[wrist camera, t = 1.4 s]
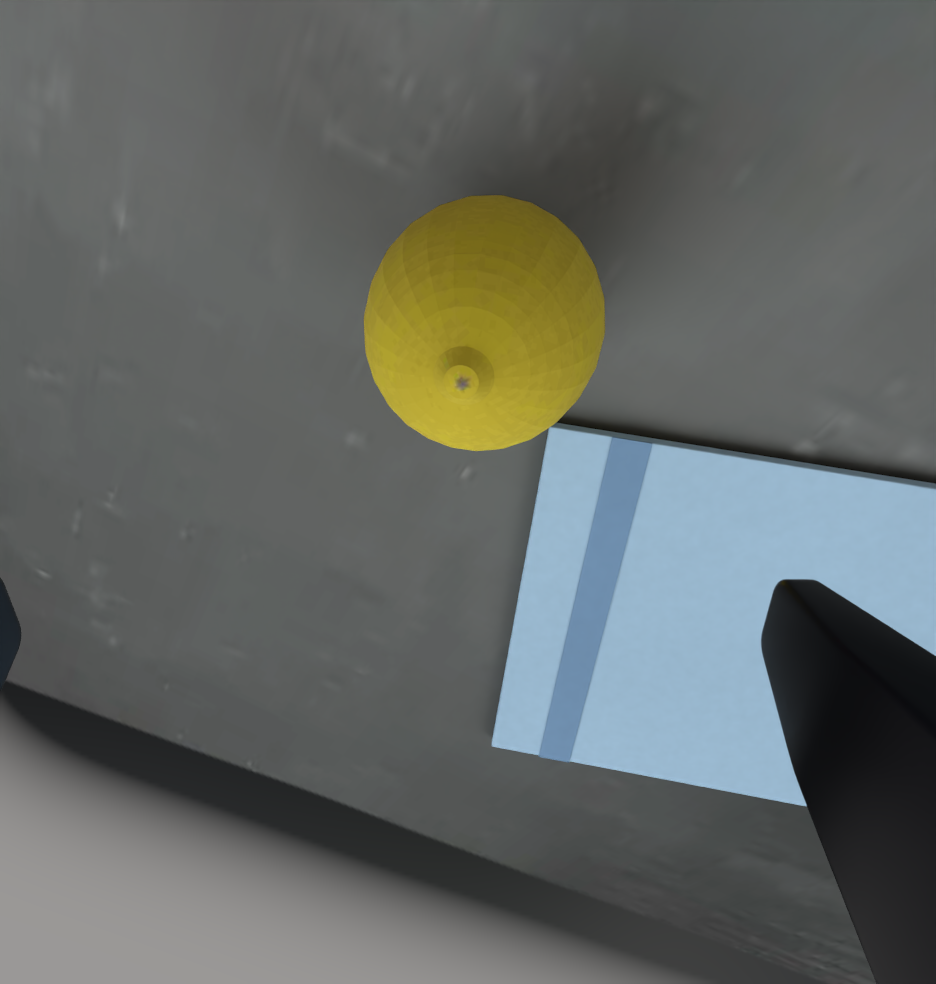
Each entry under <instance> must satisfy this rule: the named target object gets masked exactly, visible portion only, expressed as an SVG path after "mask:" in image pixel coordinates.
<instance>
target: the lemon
mask: <svg viewBox="0 0 936 984" xmlns="http://www.w3.org/2000/svg"><path fill="white" fill-rule="evenodd" d="M364 333H365V350H366V355H367V359H368V362H369V365H370V369H371V372H372V375H373V378H374V381H375V383H376V384H377V386H378V388H379V389H380V391H381V393H382V395H383V396H384V398H385V400H386V402H387V403H388V405H389V406H390V407H391V408H392V409H393V410H394V411H395V413H396V414H397V415H398V416H399V417H400V418H401V419H402V420H403V421H404V422H405V423H406V424H407V425H409V426H410V427H412V428H413V429H415V430H416V431H418V432H419V433H421V434H422V435H424V436H425V437H427V438H428V439H431V440H434V441H436V442H439V443H441V444H444V445H447V446H449V447H452V448H459V449H466V450H473V451H483V450H494V449H503V448H506V447H509V446H512V445H515V444H518V443H521V442H524V441H527V440H530V439H532V438H534V437H535V436H537V435H538V434H540V433H541V432H543V431H545V430H546V429H548V428H549V427H551V426H552V425H554V424H555V423H556V422H557V421H558V420H559V419H560V418H561V417H562V416H563V415H564V414H565V413H566V412H567V411H568V410H569V409H570V408H571V406H572V405H573V404H574V403H575V402H576V401H577V400H578V399H579V397H580V396H581V394H582V392H583V390H584V388H585V387H586V385H587V383H588V381H589V379H590V377H591V376H592V374H593V372H594V370H595V368H596V366H597V362H598V358H599V354H600V350H601V346H602V342H603V338H604V334H605V307H604V295H603V292H602V288H601V285H600V281H599V278H598V274H597V270H596V267H595V265H594V263H593V262H592V260H591V258H590V257H589V255H588V253H587V251H586V250H585V248H584V246H583V245H582V243H581V241H580V240H579V238H578V237H577V236H576V235H575V234H574V233H573V232H572V231H571V230H570V229H569V228H568V227H567V226H566V225H565V224H563V223H562V222H561V221H560V220H559V219H558V218H557V217H556V216H554V215H552V214H550V213H548V212H547V211H545V210H543V209H541V208H540V207H538V206H536V205H534V204H532V203H531V202H527V201H523V200H519V199H515V198H511V197H507V196H503V195H484V196H469V197H466V198H462V199H459V200H456V201H452V202H449V203H446V204H442V205H439V206H438V207H436V208H435V209H433V210H431V211H430V212H428V213H427V214H425V215H423V216H422V217H420V218H419V219H417V220H416V221H414V222H413V223H411V224H410V225H409V226H408V227H407V228H406V230H405V231H404V232H403V233H402V234H401V235H400V236H399V237H398V238H397V240H396V241H395V242H394V243H393V244H392V245H391V246H390V247H389V249H388V250H387V252H386V254H385V256H384V258H383V260H382V262H381V264H380V266H379V268H378V270H377V272H376V274H375V276H374V278H373V280H372V282H371V286H370V291H369V296H368V300H367V305H366V310H365V314H364Z"/></svg>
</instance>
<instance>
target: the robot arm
mask: <svg viewBox="0 0 936 984" xmlns="http://www.w3.org/2000/svg"><path fill="white" fill-rule="evenodd" d="M20 641H21V627H20V624H19V621H18V618H17V616H16V613H15V611H14V608H13V605H12V603H11V600H10V598H9V595H8V593H7V590H6V587H5V585H4V582H3V581H2V579H1V578H0V692H1V689H2V687H3V685H4V682H5V680H6V678H7V675H8V673H9V670H10V668H11V666H12V663H13V661H14V659H15V656H16V654H17V651H18V649H19V646H20ZM761 649H762V655H763V659H764V663H765V666H766V670H767V674H768V678H769V681H770V685H771V689H772V693H773V696H774V700H775V704H776V708H777V712H778V715H779V719H780V723H781V727H782V730H783V734H784V738H785V742H786V746H787V749H788V753H789V756H790V760H791V763H792V766H793V770H794V773H795V776H796V778H797V781H798V784H799V787H800V789H801V792H802V795H803V797H804V800H805V802H806V805H807V807H808V810H809V813H810V815H811V818H812V820H813V823H814V825H815V828H816V830H817V833H818V836H819V838H820V841H821V843H822V846H823V848H824V851H825V853H826V856H827V859H828V861H829V864H830V866H831V869H832V871H833V874H834V876H835V879H836V882H837V884H838V887H839V889H840V892H841V894H842V897H843V899H844V902H845V905H846V907H847V910H848V912H849V915H850V917H851V920H852V922H853V925H854V927H855V930H856V933H857V935H858V938H859V940H860V943H861V945H862V948H863V950H864V953H865V956H866V958H867V961H868V963H869V966H870V968H871V971H872V973H873V976H874V979H875V981H876V984H936V656H935V655H934V654H932V653H930V652H929V651H927V650H926V649H924V648H923V647H921V646H919V645H918V644H916V643H915V642H913V641H912V640H910V639H908V638H907V637H905V636H904V635H902V634H901V633H899V632H897V631H896V630H894V629H893V628H891V627H890V626H888V625H886V624H885V623H883V622H882V621H880V620H879V619H877V618H875V617H874V616H872V615H871V614H869V613H868V612H866V611H864V610H863V609H861V608H860V607H858V606H857V605H855V604H853V603H852V602H850V601H849V600H847V599H846V598H844V597H842V596H841V595H839V594H838V593H836V592H835V591H833V590H831V589H830V588H828V587H827V586H825V585H824V584H822V583H820V582H819V581H816V580H812V579H783V580H781V581H779V582H778V583H777V584H776V586H775V588H774V590H773V594H772V597H771V601H770V604H769V608H768V612H767V615H766V619H765V623H764V626H763V630H762V634H761Z"/></svg>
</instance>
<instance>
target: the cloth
mask: <svg viewBox="0 0 936 984" xmlns="http://www.w3.org/2000/svg"><path fill="white" fill-rule="evenodd" d="M783 579H812V580H816V581H819V582H820V583H822V584H824V585H825V586H827V587H828V588H830V589H831V590H833V591H835V592H836V593H838V594H839V595H841V596H842V597H844V598H846V599H847V600H849V601H850V602H852V603H853V604H855V605H857V606H858V607H860V608H861V609H863V610H864V611H866V612H868V613H869V614H871V615H872V616H874V617H875V618H877V619H879V620H880V621H882V622H883V623H885V624H886V625H888V626H890V627H891V628H893V629H894V630H896V631H897V632H899V633H901V634H902V635H904V636H905V637H907V638H908V639H910V640H912V641H913V642H915V643H916V644H918V645H919V646H921V647H923V648H924V649H926V650H927V651H929V652H930V653H932V654H934V655H935V656H936V484H935V483H929V482H922V481H916V480H910V479H904V478H898V477H891V476H885V475H879V474H873V473H866V472H860V471H854V470H848V469H842V468H835V467H829V466H823V465H817V464H810V463H804V462H798V461H792V460H786V459H779V458H773V457H767V456H761V455H754V454H748V453H742V452H736V451H730V450H723V449H717V448H711V447H705V446H698V445H692V444H686V443H680V442H674V441H667V440H661V439H655V438H649V437H642V436H636V435H630V434H624V433H618V432H611V431H605V430H599V429H593V428H586V427H580V426H574V425H568V424H562V423H555V424H554V425H552V426H551V427H549V431H548V436H547V442H546V447H545V453H544V458H543V464H542V469H541V475H540V480H539V486H538V491H537V497H536V502H535V507H534V513H533V518H532V524H531V529H530V535H529V540H528V546H527V551H526V557H525V562H524V568H523V573H522V579H521V584H520V590H519V595H518V601H517V606H516V612H515V617H514V623H513V628H512V634H511V639H510V645H509V650H508V656H507V661H506V667H505V672H504V678H503V683H502V689H501V694H500V700H499V705H498V711H497V716H496V722H495V727H494V732H493V738H492V746H493V747H498V748H503V749H509V750H514V751H519V752H524V753H530V754H535V755H539V757H543V758H548V759H553V760H558V761H564V762H569V761H572V762H577V763H582V764H587V765H592V766H598V767H603V768H608V769H613V770H619V771H624V772H629V773H634V774H640V775H645V776H650V777H655V778H661V779H666V780H671V781H676V782H681V783H687V784H692V785H697V786H702V787H708V788H713V789H718V790H723V791H729V792H734V793H739V794H744V795H749V796H755V797H760V798H765V799H770V800H776V801H781V802H786V803H791V804H797V805H802V806H807V805H806V802H805V800H804V797H803V795H802V792H801V789H800V787H799V784H798V781H797V778H796V776H795V773H794V770H793V766H792V763H791V760H790V756H789V753H788V749H787V746H786V742H785V738H784V734H783V730H782V727H781V723H780V719H779V715H778V712H777V708H776V704H775V700H774V696H773V693H772V689H771V685H770V681H769V678H768V674H767V670H766V666H765V663H764V659H763V655H762V649H761V634H762V630H763V626H764V623H765V619H766V615H767V612H768V608H769V604H770V601H771V597H772V594H773V590H774V588H775V586H776V584H777V583H778V582H779V581H781V580H783Z"/></svg>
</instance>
